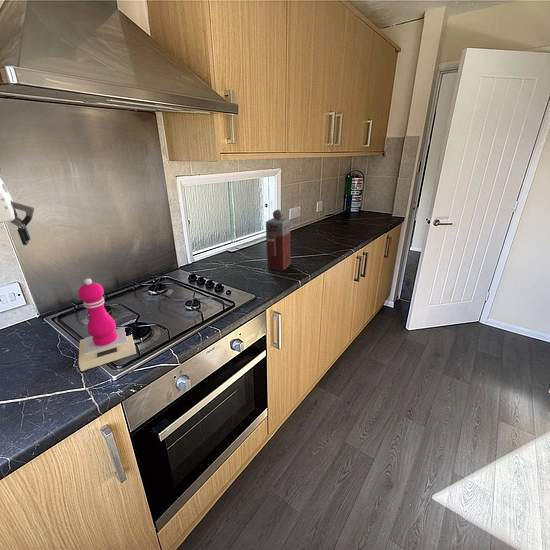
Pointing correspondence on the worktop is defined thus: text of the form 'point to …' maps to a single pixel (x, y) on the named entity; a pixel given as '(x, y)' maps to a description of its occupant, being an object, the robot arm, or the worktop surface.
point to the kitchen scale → (105, 350)
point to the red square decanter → (278, 241)
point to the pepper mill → (97, 314)
